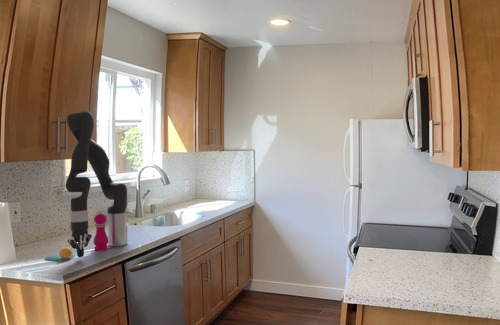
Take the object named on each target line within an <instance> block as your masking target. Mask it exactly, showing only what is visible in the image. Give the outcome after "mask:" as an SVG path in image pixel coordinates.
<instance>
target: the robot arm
mask: <svg viewBox="0 0 500 325" xmlns="http://www.w3.org/2000/svg"><path fill="white" fill-rule="evenodd" d="M66 123H67V125H68V129H69V130H70V132H71V133H72V135H73V136H74V138H75V140H76V141H77V144H76V145H75V148H74V149H73V151H72V152H71V153H72V154H71V163H70V164H71V165H70V167H71V168H70V170H69V174H68V175H67V179H66V182H65V188H66V191H67V192H69V193H81V195H80V196H75V197H73V198H71V200H70V231H71V237H70V238H69V239H67V243H68V244H69V246H71V249H74V250H75V249H76V256H77V258H83V257H84V255H85V248H86V247H88V246H89V243H90V241H91V239H92V237H93V235H92V234H91V233H90V234H89V231H88V230H89V213H88V197H89V192H90V189H91V185H92V184H91V180H90V178H89V177H87V176H79V175H81V174H83V173H84V174H85V173H86V172H87V171H88V163H89V165H90V166H91V168H92V171H93V172H94V175H95V177H97V180H98V182H99V185H100V188H101V191H102V193H103V195H104V198H106V199H108V200H110V201H111V200H112V201H113V203H112V206H111V205H110V206H109V207H107V234H108V235H107V237H108V244H107V246H108V247H109V246H110V247H121V246H125V245H127V243H128V242H129V240H128V224H127V218H126V217H127V216H126V214H127V213H126V212H127V211H126V210H127V207H128V188H127V186H126V185H125V184H124V183H123V182H114V181H113V179H112V178H111V176H110V171H109V170H110V159H109V157H108V155H107V153H106V151H105V149H104V148H103V147H102V145H101V144H98V143H97V142H96V141H94V140H93V139H92V137H93V131H94V128H95V127H94V126H95V119H94V115H93V113H91V112H90V111H88V110H87V111H83V110H82V111H79V112H77V111H76V112H73V113H70V114H68V115H67V118H66Z"/></svg>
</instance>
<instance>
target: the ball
mask: <svg viewBox="0 0 500 325" xmlns="http://www.w3.org/2000/svg"><path fill="white" fill-rule="evenodd" d="M58 254H59V255H60V257H61V258H63V259H67V260H69V259H68V258H69V257H71V255H72V254H73V250H72V248H70V247H68V246H64V247H62V248H61V249H60V250H59V252H58Z"/></svg>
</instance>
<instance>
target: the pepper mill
mask: <svg viewBox="0 0 500 325" xmlns="http://www.w3.org/2000/svg"><path fill="white" fill-rule="evenodd" d="M107 221H108V217H107V216H106V215H105V214H103V211H102V210H99V211H98V213H97V214H96V215H95V216H94V218H93V222H94V223H95V224H94V225H95V228H96V231H95V236H94V237H93V243H92V244H93V245H94V251H95V252H105V251H108V249H109V245H108V235H107V233H106V224H107V223H106V222H107Z"/></svg>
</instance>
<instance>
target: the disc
mask: <svg viewBox="0 0 500 325" xmlns="http://www.w3.org/2000/svg"><path fill="white" fill-rule="evenodd" d="M73 258H75V253H72V255H71V257H69V258H68V259H63V258H61V257H60V255H59V253H57V254H51V255H48V256H46V257H45V258H44V259H45V261H47V262H58V261H59V262H60V261H67V260H69V259H70V260H71V259H73Z"/></svg>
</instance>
